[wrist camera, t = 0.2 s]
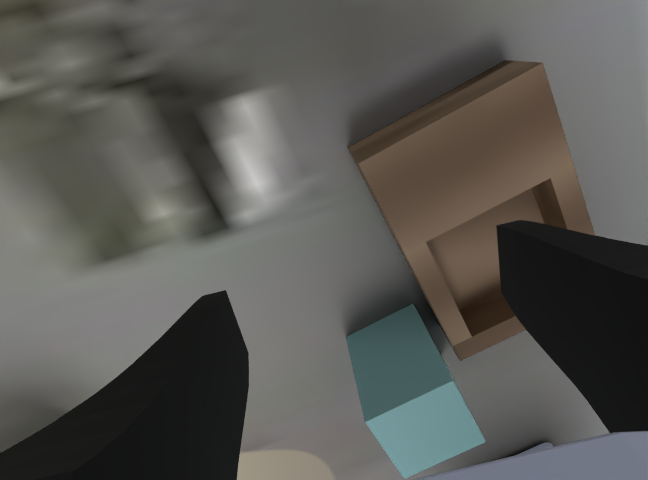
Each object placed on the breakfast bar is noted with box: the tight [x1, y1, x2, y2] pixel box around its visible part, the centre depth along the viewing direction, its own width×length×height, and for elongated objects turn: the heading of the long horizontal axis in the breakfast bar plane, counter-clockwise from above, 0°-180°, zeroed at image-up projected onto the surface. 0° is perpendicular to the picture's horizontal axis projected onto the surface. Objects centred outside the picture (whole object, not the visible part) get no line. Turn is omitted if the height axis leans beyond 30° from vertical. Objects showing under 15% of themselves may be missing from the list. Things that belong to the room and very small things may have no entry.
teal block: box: [346, 304, 486, 479], centre depth 22 cm, size 4×4×6 cm
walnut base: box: [348, 60, 595, 361], centre depth 20 cm, size 11×8×3 cm
